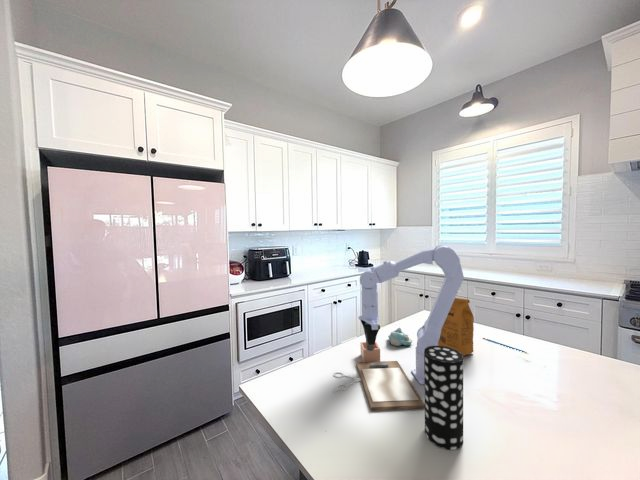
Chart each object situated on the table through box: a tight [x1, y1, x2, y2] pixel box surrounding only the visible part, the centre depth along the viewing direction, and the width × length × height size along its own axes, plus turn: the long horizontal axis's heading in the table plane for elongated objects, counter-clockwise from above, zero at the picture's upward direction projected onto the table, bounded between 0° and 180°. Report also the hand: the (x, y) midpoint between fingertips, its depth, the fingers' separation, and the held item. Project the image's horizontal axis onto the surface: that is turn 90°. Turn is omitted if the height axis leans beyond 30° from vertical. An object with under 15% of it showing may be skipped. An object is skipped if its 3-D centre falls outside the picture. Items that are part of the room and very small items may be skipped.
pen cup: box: [360, 341, 381, 362], centre depth 100 cm, size 6×6×5 cm
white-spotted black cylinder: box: [423, 346, 464, 451], centre depth 62 cm, size 8×8×20 cm
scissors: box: [331, 371, 362, 393], centre depth 86 cm, size 11×1×20 cm
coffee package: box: [438, 297, 475, 357], centre depth 105 cm, size 10×12×22 cm
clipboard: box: [356, 360, 425, 412], centre depth 84 cm, size 15×24×2 cm, turn 1°
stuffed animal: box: [388, 327, 413, 347], centre depth 113 cm, size 11×7×12 cm
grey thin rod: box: [482, 337, 528, 354], centre depth 108 cm, size 1×17×1 cm, turn 31°
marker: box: [365, 323, 374, 351], centre depth 93 cm, size 3×3×9 cm
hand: (370, 342), depth 93 cm, fingers closed on marker, 3 cm apart
